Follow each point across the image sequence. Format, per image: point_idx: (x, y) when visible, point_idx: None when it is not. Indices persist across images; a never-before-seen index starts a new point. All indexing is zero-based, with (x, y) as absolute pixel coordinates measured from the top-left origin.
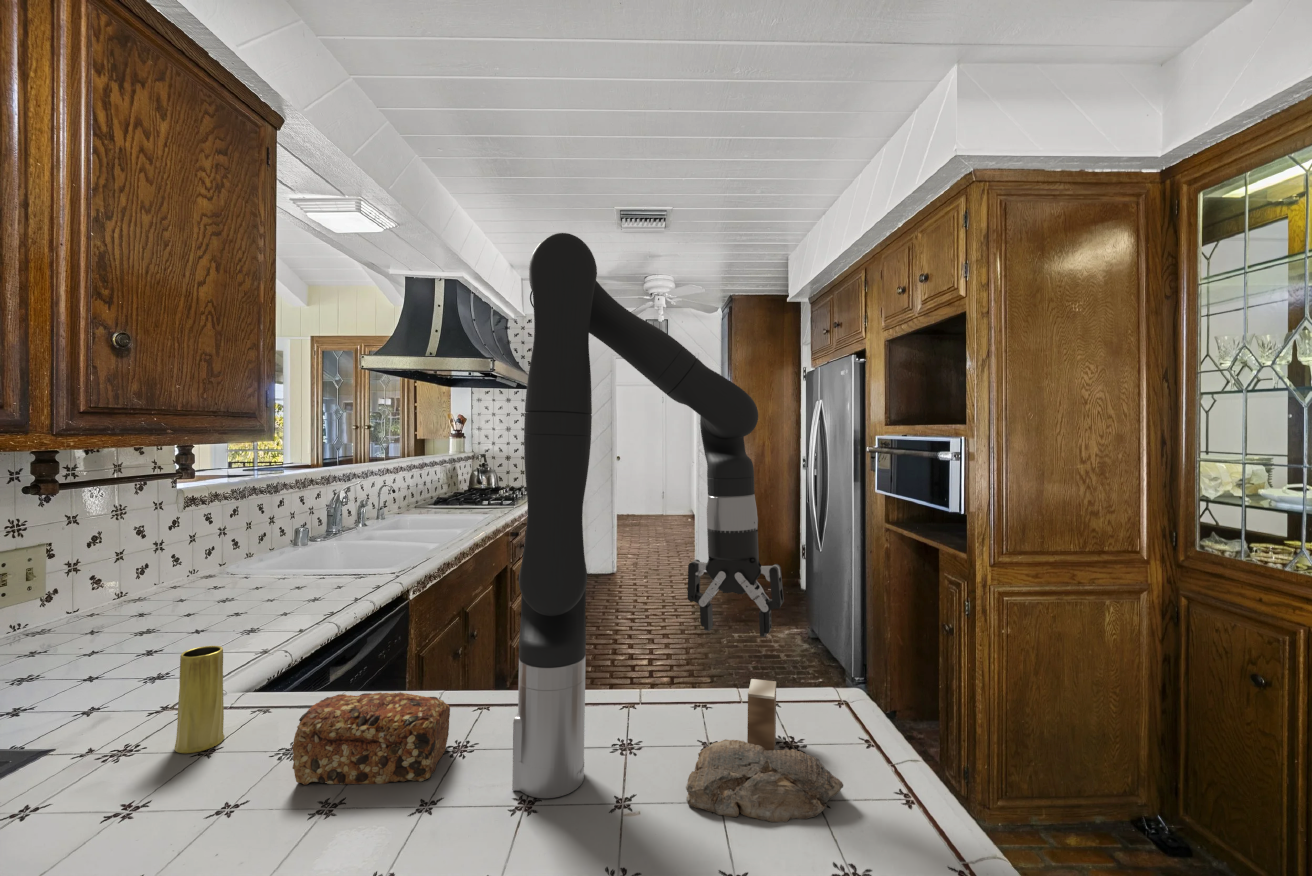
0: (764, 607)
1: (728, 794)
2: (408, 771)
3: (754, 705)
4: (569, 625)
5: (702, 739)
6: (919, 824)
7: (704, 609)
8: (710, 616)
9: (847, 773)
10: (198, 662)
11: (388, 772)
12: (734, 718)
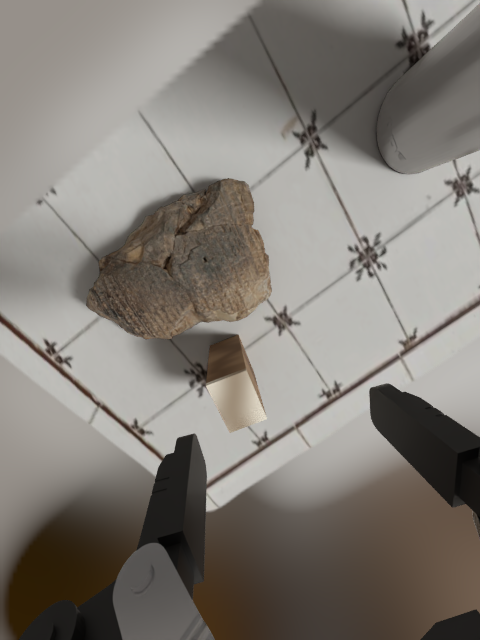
0: (135, 578)
1: (191, 200)
2: None
3: (234, 365)
4: None
5: (295, 328)
6: (23, 317)
7: (461, 439)
8: (406, 438)
9: (127, 361)
10: None
11: None
12: (285, 390)
